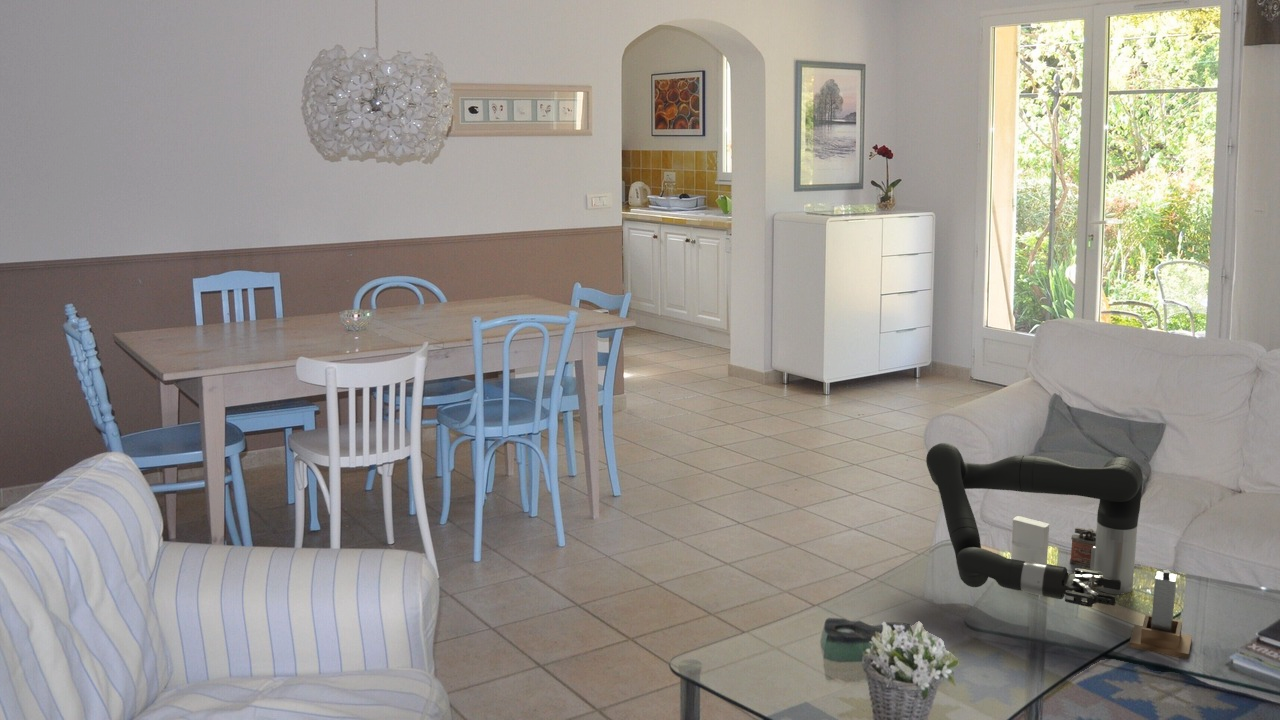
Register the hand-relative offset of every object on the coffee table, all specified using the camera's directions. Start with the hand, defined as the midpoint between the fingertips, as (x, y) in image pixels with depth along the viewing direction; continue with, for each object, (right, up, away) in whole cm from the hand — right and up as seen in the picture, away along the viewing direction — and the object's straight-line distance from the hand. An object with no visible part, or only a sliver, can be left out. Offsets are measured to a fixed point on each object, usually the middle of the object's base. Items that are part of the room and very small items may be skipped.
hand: (1118, 593), depth 255 cm
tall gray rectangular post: (+9, -10, -2) cm, 13 cm away
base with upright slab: (-7, -1, +39) cm, 40 cm away
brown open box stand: (+9, -11, -2) cm, 14 cm away
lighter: (+8, -1, +38) cm, 38 cm away
